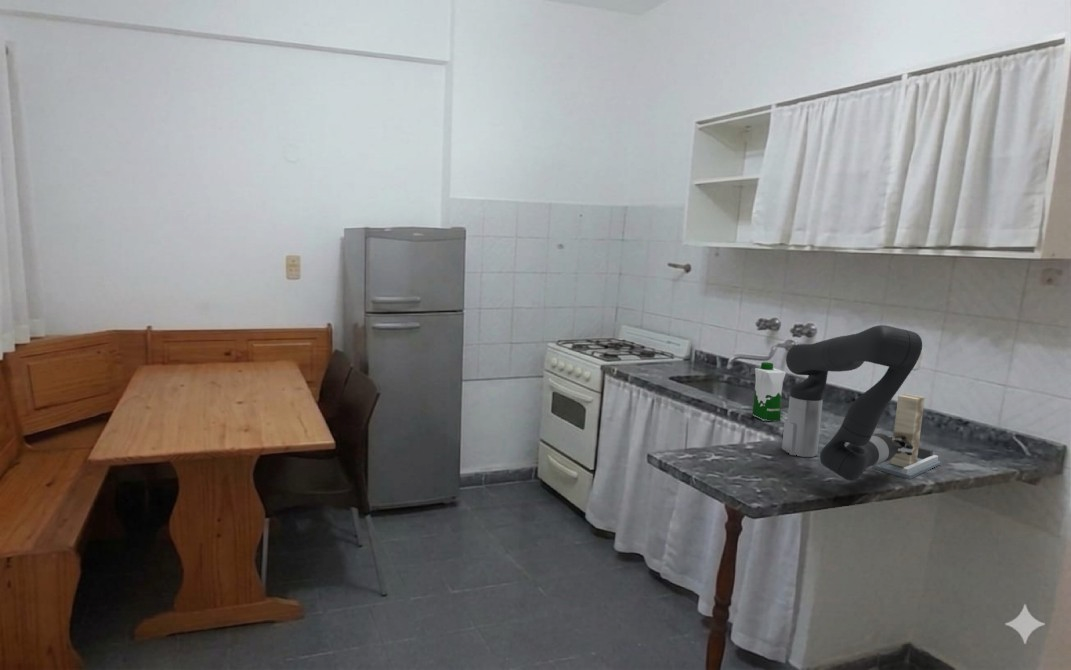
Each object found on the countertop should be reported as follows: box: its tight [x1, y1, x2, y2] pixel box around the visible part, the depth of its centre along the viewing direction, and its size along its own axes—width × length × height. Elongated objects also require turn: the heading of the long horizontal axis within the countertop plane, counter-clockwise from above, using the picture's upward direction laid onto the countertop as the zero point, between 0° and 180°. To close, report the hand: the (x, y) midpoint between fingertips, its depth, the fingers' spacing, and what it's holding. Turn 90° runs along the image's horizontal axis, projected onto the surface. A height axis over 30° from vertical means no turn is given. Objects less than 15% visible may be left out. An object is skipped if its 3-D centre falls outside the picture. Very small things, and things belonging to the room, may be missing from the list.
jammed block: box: [890, 393, 926, 467], centre depth 185 cm, size 5×5×20 cm
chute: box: [872, 446, 942, 480], centre depth 188 cm, size 21×10×4 cm, turn 128°
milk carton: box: [752, 361, 787, 421], centre depth 235 cm, size 9×9×20 cm
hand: (902, 439), depth 184 cm, fingers closed
